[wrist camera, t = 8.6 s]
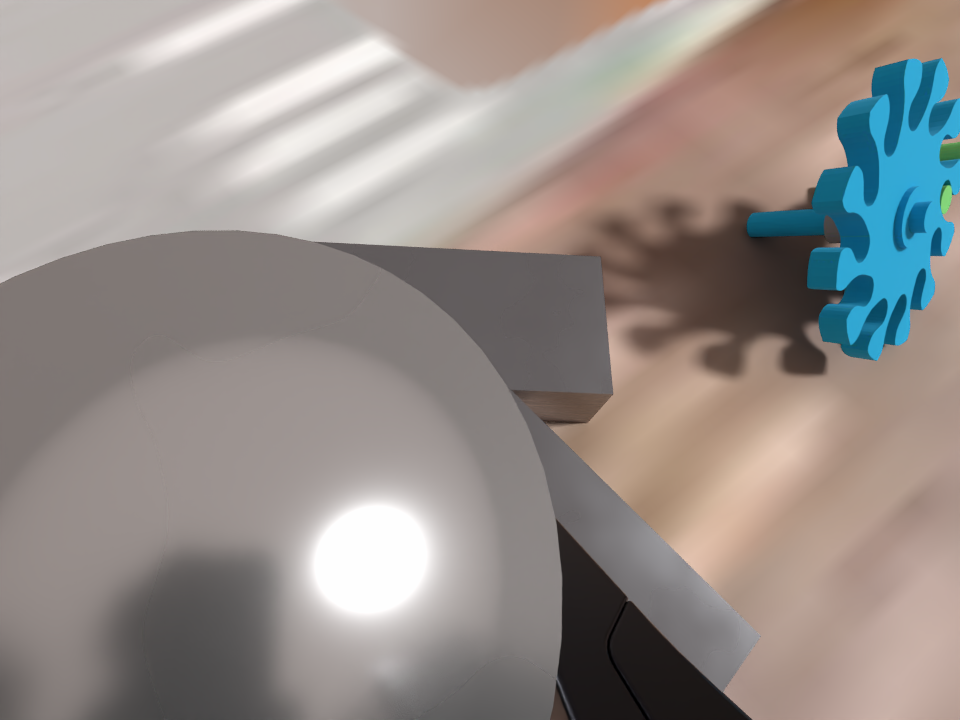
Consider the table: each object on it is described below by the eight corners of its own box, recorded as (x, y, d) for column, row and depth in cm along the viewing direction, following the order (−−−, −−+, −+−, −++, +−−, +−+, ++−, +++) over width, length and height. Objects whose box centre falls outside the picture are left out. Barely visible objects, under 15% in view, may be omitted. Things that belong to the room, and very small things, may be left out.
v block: (715, 707, 14) (780, 740, 11) (62, 694, 13) (-40, 726, 11) (658, 305, 19) (692, 261, 17) (192, 282, 19) (148, 233, 16)
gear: (858, 416, 16) (861, 90, 12) (698, 376, 21) (662, 136, 17) (981, 282, 20) (1013, 12, 16) (825, 276, 25) (820, 66, 21)
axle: (436, 678, 13) (259, 1682, 1) (308, 613, 14) (-700, 886, 2) (493, 536, 15) (658, 377, 3) (376, 482, 15) (96, 151, 3)
